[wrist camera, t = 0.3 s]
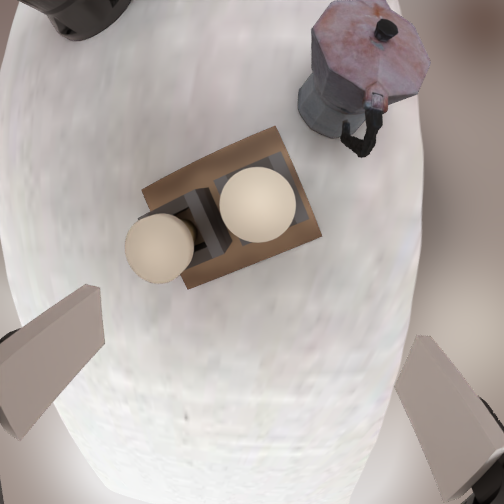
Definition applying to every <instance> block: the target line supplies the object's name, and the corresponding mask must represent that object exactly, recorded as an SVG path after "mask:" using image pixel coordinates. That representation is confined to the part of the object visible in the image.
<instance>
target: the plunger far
mask: <svg viewBox="0 0 504 504" xmlns="http://www.w3.org/2000/svg"><path fill="white" fill-rule="evenodd" d="M196 237H197V229H196V227H195V225H194V224H193V223H192V222H191V221H190V220H187V219H178V218H177V217H175V216H173V215H170V214H165V213H160V214H154V215H151V216H148V217H145V218H143V219H140V220H139V221H137V222H136V223H135V224H134V225H133V226H132V227H131V228H130V230H129V232H128V234H127V236H126V240H125V254H126V258H127V261H128V263H129V265H130V267H131V268H132V270H133V271H134V272H135V273H136V274H137V275H138V276H139V277H141V278H142V279H144V280H145V281H148V282H150V283H155V284H163V283H168V282H170V281H172V280H174V279H175V278H177V277H178V276H179V275H180V274H181V273H182V272H183V271H184V270H185V269H186V268H187V266H188V265H189V263H190V262H191V260H192V257H193V252H194V241H195V240H196Z"/></svg>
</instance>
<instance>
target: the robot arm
mask: <svg viewBox="0 0 504 504" xmlns="http://www.w3.org/2000/svg"><path fill="white" fill-rule="evenodd" d="M18 1H20V2H22V3H24V4H26V5H28V6H30V7H32V8H34V9H36V10H38V11H40V12H42V13H44V14H46V15H47V16H48V18H49V20H50V21H51V23H52V24H53V26H54V27H55V29H56V30H57V32H58V33H59V34H60V35H62V36H64V37H65V38H67V39H69V40H74V41H77V40H83V39H87V38H89V37H92V36H94V35H96V34H97V33H99V32H101V31H102V30H104V29H105V28H106V27H108V26H109V25H110V24H111V23H113V22H114V21H115V20H116V19H117V18H118V17H119V16H120V15H121V14H122V12H123V11H124V10H125V9H126V7H127V6H128V4H129V3H130V1H131V0H18ZM104 344H105V338H104V329H103V320H102V309H101V295H100V288H99V287H95V286H91V285H87V284H85V285H83V286H82V287H80V288H79V289H77V290H76V291H74V292H73V293H71V294H70V295H68V296H67V297H65V298H64V299H62V300H61V301H59V302H58V303H56V304H55V305H54V306H52V307H51V308H49V309H48V310H46V311H45V312H43V313H42V314H41V315H39V316H38V317H36V318H35V319H33V320H32V321H31V322H29V323H28V324H27V325H25V326H24V327H22V328H20V329H17V330H14V331H12V332H9V333H8V334H6V335H5V336H4V337H2V338H1V339H0V423H1V425H2V426H3V428H4V430H5V431H6V432H7V433H9V434H10V435H12V436H13V437H14V438H16V439H17V440H19V441H21V440H22V438H23V437H24V436H25V435H26V434H27V432H28V431H29V430H30V429H31V428H32V426H33V425H34V424H35V423H36V421H37V420H38V419H39V418H40V417H41V415H42V414H43V413H44V412H45V411H46V409H47V408H48V407H49V406H50V405H51V403H52V402H53V401H54V400H55V399H56V398H57V397H58V395H59V394H60V393H61V392H62V391H63V390H64V389H65V387H66V386H67V385H68V384H69V383H70V382H71V381H72V379H73V378H74V377H75V376H76V375H77V374H78V373H79V372H80V370H81V369H82V368H83V367H84V366H85V365H86V364H87V363H88V362H89V360H90V359H91V358H92V357H93V356H94V355H95V354H96V353H97V352H98V351H99V349H100V348H101V347H102V346H103V345H104ZM394 388H395V390H396V392H397V394H398V396H399V398H400V400H401V402H402V405H403V407H404V409H405V411H406V413H407V415H408V418H409V420H410V422H411V424H412V426H413V429H414V431H415V433H416V436H417V438H418V440H419V442H420V445H421V447H422V449H423V452H424V454H425V457H426V459H427V461H428V464H429V466H430V469H431V471H432V474H433V476H434V479H435V481H436V484H437V487H438V489H439V492H440V495H441V497H442V500H443V503H445V502H449V501H451V500H455V499H457V498H460V497H461V496H462V495H464V493H466V492H467V491H468V490H469V489H470V488H472V490H473V493H472V494H471V495H470V496H469V497H468V498H467V499H466V500H465V501H463V502H462V503H461V504H504V426H503V425H502V423H501V422H500V420H499V421H498V418H497V416H496V415H495V413H493V410H492V409H491V408H490V406H489V405H488V404H487V403H486V402H485V401H484V400H483V399H482V398H480V397H479V396H478V395H477V394H476V393H475V392H474V390H473V389H472V387H471V386H470V385H469V383H468V382H467V381H466V380H465V378H464V377H463V376H462V374H461V373H460V372H459V371H458V369H457V368H456V367H455V366H454V364H453V363H452V362H451V360H450V359H449V358H448V357H447V356H446V354H445V353H444V352H443V350H442V349H441V348H440V347H439V346H438V344H437V343H436V342H435V341H434V340H433V338H432V337H431V336H422V335H421V336H420V335H417V336H416V338H415V340H414V343H413V345H412V348H411V350H410V353H409V355H408V357H407V359H406V362H405V364H404V366H403V368H402V370H401V373H400V375H399V377H398V379H397V381H396V383H395V385H394ZM0 504H4V501H3V495H2V488H1V481H0Z"/></svg>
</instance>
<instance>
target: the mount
mask: <svg viewBox="0 0 504 504" xmlns="http://www.w3.org/2000/svg"><path fill="white" fill-rule="evenodd" d="M251 167H264V168H268V169H271V170H273V171H276V172H277V173H279V174H280V175H282V176H283V177H284V178H285V179H286V180H287V181H288V183H289V184H290V186H291V188H292V190H293V192H294V195H295V200H296V210H295V215H294V218H293V220H292V222H291V224H290V226H289V227H288V229H287V230H286V231H285V232H284V233H283V234H281V235H280V236H279V237H277V238H275V239H273V240H270V241H267V242H260V243H256V242H249V241H246V240H243V239H241V238H239V237H237V236H236V235H234V234H233V233H232V232H231V231H230V230H229V229H228V228H227V226H226V225H225V223H224V221H223V219H222V216H221V213H220V196H221V193H222V190H223V188H224V186H225V184H226V183H227V182H228V180H229V179H230V178H231V177H232V176H233V175H235V174H236V173H238V172H239V171H241V170H244V169H247V168H251ZM142 193H143V195H144V198H145V200H146V202H147V204H148V207H149V209H150V211H151V212H149V213H147V214H145V215H143V216H141V217H139V218H138V220H140V219H143V218H145V217H148V216H151V215H154V214H160V213H165V214H170V215H173V216H175V217H177V218H178V219H187V220H190V221H191V222H192V223H193V224H194V225H195V227H196V229H197V237H196V240H195V241H194V252H193V257H192V260H191V262H190V263H189V265H188V266H187V268H186V269H185V270H184V271H183V272H182V273H181V274H180V275H181V277H182V279H183V281H184V283H185V285H186V287H187V289H191V288H194V287H196V286H199V285H201V284H204V283H206V282H209V281H212V280H214V279H217V278H219V277H222V276H224V275H227V274H229V273H232V272H234V271H237V270H239V269H242V268H244V267H247V266H250V265H252V264H255V263H257V262H260V261H262V260H265V259H267V258H270V257H272V256H275V255H277V254H280V253H282V252H285V251H287V250H290V249H292V248H295V247H297V246H300V245H302V244H305V243H307V242H309V241H312V240H314V239H317V238H319V237H322V234H321V232H320V229H319V227H318V224H317V221H316V219H315V216H314V214H313V211H312V209H311V206H310V204H309V201H308V199H307V196H306V194H305V192H304V189H303V187H302V184H301V182H300V180H299V177H298V175H297V173H296V170H295V168H294V166H293V163H292V161H291V159H290V156H289V154H288V152H287V150H286V147H285V145H284V143H283V141H282V139H281V136H280V134H279V132H278V130H277V128H276V126H273V127H271V128H268V129H266V130H263V131H261V132H259V133H256V134H254V135H252V136H249V137H247V138H245V139H242V140H240V141H238V142H235V143H233V144H231V145H229V146H227V147H224V148H222V149H220V150H218V151H216V152H214V153H212V154H209V155H207V156H205V157H203V158H201V159H199V160H197V161H195V162H193V163H191V164H189V165H187V166H185V167H183V168H181V169H179V170H177V171H175V172H173V173H171V174H170V175H168V176H166V177H164V178H162V179H160V180H158V181H156V182H155V183H153V184H151V185H149V186H147V187H146V188H144V189H142Z"/></svg>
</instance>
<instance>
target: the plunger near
mask: <svg viewBox="0 0 504 504" xmlns="http://www.w3.org/2000/svg"><path fill="white" fill-rule="evenodd" d="M295 210H296V200H295V195H294V192H293V190H292V188H291V186H290V184H289V183H288V181H287V180H286V179H285V178H284V177H283V176H282V175H280V174H279V173H277V172H276V171H273V170H271V169H268V168H264V167H251V168H247V169H244V170H241V171H239V172H238V173H236V174H235V175H233V176H232V177H231V178H230V179H229V180H228V182H227V183H226V184H225V186H224V188H223V190H222V193H221V196H220V213H221V216H222V219H223V221H224V223H225V225H226V226H227V228H228V229H229V230H230V231H231V232H232V233H233V234H234V235H236V236H237V237H239V238H241V239H243V240H246V241H249V242H256V243H260V242H267V241H270V240H273V239H275V238H277V237H279V236H280V235H281V234H283V233H284V232H285V231H286V230H287V229H288V227H289V226H290V224H291V222H292V220H293V218H294V215H295Z"/></svg>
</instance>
